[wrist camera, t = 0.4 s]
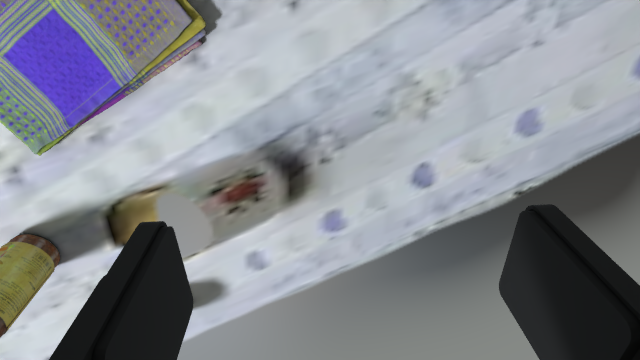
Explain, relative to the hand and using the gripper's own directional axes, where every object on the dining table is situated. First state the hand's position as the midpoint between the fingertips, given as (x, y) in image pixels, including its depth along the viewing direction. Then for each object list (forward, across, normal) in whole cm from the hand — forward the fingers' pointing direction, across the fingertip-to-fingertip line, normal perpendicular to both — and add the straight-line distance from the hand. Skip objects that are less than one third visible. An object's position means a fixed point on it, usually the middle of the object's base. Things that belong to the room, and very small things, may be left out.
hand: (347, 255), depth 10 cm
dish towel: (+30, +24, -3) cm, 39 cm away
